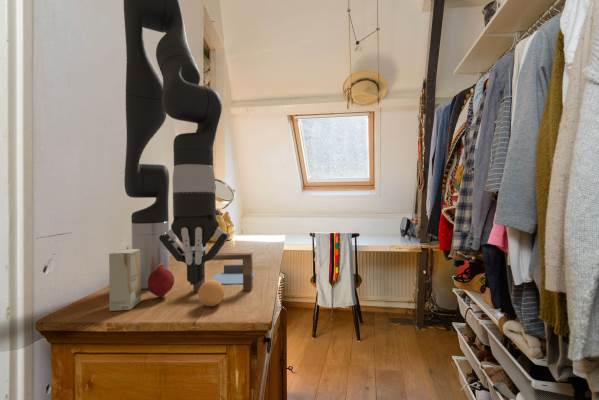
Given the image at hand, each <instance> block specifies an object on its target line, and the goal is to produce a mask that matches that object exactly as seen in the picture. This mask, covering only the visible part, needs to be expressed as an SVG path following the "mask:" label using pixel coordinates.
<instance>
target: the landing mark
mask: <svg viewBox="0 0 599 400" xmlns="http://www.w3.org/2000/svg"><path fill="white" fill-rule="evenodd" d="M255 276H256V272H253V278H255ZM210 280H215V281H218V282H220V283H221V284H222V285H243V273H224V272H217V273H216V274H215V275H214V276H212V277H211V279H210Z"/></svg>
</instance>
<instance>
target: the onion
mask: <svg viewBox="0 0 599 400" xmlns="http://www.w3.org/2000/svg"><path fill="white" fill-rule="evenodd" d="M174 284H175V277H174V274H173V273H172V272H171V271H170V269H169V270H168V269H166V268H164V264H160V265H159V266H158V267H157V268H156V269H155V270H154V271H153V272H152V273H151V274H150V276H149V278H148V281H147V285H148V288H147V289H148V291H149V292H150V293H151V294H152V295H154V296H156V297H158V298H164V297H165V295H166V294H168V293H169V292H170V290H172V288H173V287H174Z"/></svg>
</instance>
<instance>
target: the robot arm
mask: <svg viewBox="0 0 599 400" xmlns="http://www.w3.org/2000/svg"><path fill="white" fill-rule="evenodd" d="M182 12H183V11H182V8H181V4H180V2H179V0H123V16H124V33H125V34H124V35H125V51H126V53H125V54H126V56H125V57H126V66H125V67H126V70H125V72H126V73H125V74H126V75H125V122H126V128H125V129H126V148H125V161H124V162H125V163H124V165H125V166H124V179H123V180H124V191H125V194H126V195H127V197H129V198H135V199H137V198H138V199H140V198H141V199H144V198H146V199H147V198H154V199H155V201H154V202H153V203H152V204H151V205H149V206H146V207H145V208H142V209H139V210H136V211H134V212H132V214H131V217H130V218H131V249H140V277H141V290H142V289H145V290H147V289H148V285H147V281H148V278H149V276H150V274H151V273H152V272H153V271H154V270H155V269H156V268H157V267H158V266H159V265H160V264H164V268H166V269H168V270H169V271H170V255H171V256H172V257H173V258H174V259H175V261H177V262H181V263H184V264H185V265H186V280H187V282H188V283H189V285H190V286H193V285H199V284H200V283H201V282H202V281H203V280H204V277H205V276H206V273H205V271H206V269H205V268H206V267H205V266H206V265H204V264H205V263H206V262H209V261H212V260H211V259H213V258H214V257H215V255H216V254H217V253H219V251H220V250H221V249H222V247H223V246H224V245H225V244H226V242H227V241H228V239H229V238H230V235H231V234H230V233H229V232H227V231H224V230H223V229H222V228H220V227H219V226H220V225H219V222H218V220H217V217H216V216H217V212H216V211H217V210H216V209H217V207H216V205H217V204H216V202H217V201H216V190H217V185H216V177H215V171H214V170H215V169H214V143H215V140H216V134H217V130H218V126H219V122H220V119H221V116H222V111H223V110H222V109H223V106H222V105H223V104H222V100H221V97H220V96H219V93H218V92H217V91H216V90H215V89H213V88H210V87H207V86H203V85H200V81H201V74H200V70H199V67H198V65H197V63H196V59H194V56H193V54H192V51H191V48H190V46H189V42H188V39H187V34H186V28H185V27H186V26H185V22H184V17H183V13H182ZM143 28H144V29H147V30H150V31H155V32H158V33H162V34H163V33H164V34H163V36H162V37H161V38H160V40H159V41H158V43H157V46H156V47H155V48H156V49H155V58H156V62H157V65H158V68H159V70H160V74H161V76H162V77H161V76H160V74H159V72H158V69H157V68H156V67H155V65H154V62H153V61H152V59H151V56H150V54H149V52H148V49H147V46H146V43H145V37H144V32H143V31H144V30H143ZM167 115H168V117H170V118H172V119H173V120H177V121H182V122H188V123H193V124H197V127H196V131H195V132H183V133H180V134H177V135H176V136H175V137H174V138H173V146H172V147H173V171H172V172H173V173H172V216H173V221H172V223H171V225H170V226H169V224H170V223H169V221H170V220H169V219H170V218H169V194H170V193H169V192H170V190H169V189H170V172H169V169H168V167H167V165H163V164H151V163H150V164H149V163H140V161H141V158H142V154H143V152H144V150H145V148H146V147H147V145H148V144H149V142H150V141H151V140H152V138H154V136H155V134H157V132H158V131H159V130H160V129H161V128H162V126H163V124H164V122H165V121H166V118H167ZM170 228H171V229H170ZM213 237H214V240H215V242H214V243H213V245H212V246H211V248H210V249H209V250H208V251H207V249H208V243H210V241H211V240H212V238H213ZM177 239H178V240H179V242H180V243H181V244H182V247H181V245H180V244H179V242H177ZM206 253H207V254H206ZM205 278H206V277H205Z"/></svg>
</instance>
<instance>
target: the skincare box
mask: <svg viewBox="0 0 599 400" xmlns="http://www.w3.org/2000/svg"><path fill="white" fill-rule="evenodd" d="M108 273H109V274H108V275H109V276H108V279H109V280H108V282H109V284H108V285H109V287H108V288H109V290H108V291H109V297H108V298H109V302H108V303H109V311H110V312H113V311H128V310H132V309H133V308H134V307H135V306H137V305H138V304H140V302H142V294H141V292H142V291H141V290H142V289H141V277H140V249H132V248H129V249H126V248H125V249H120V250H115V251H113V252H111V253H108Z"/></svg>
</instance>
